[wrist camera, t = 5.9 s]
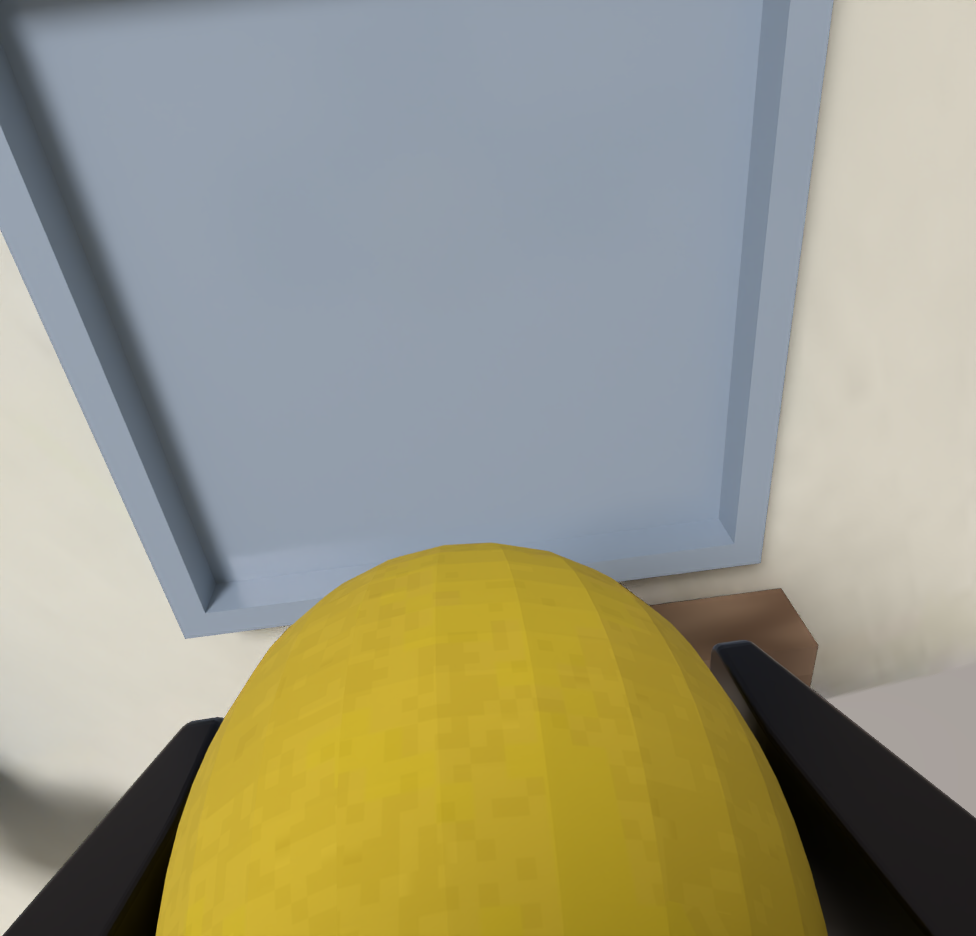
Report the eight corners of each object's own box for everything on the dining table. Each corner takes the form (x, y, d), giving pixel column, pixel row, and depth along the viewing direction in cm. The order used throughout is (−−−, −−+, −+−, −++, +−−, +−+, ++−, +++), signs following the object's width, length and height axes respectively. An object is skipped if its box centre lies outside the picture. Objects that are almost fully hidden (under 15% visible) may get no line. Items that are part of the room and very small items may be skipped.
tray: (809, -187, 13) (861, -216, 11) (735, 525, 21) (760, 563, 20) (-79, -84, 13) (-149, -100, 11) (202, 594, 21) (185, 638, 19)
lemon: (698, 653, 11) (1148, 1660, 4) (375, 761, 12) (310, 1766, 5) (591, 345, 8) (1433, 1874, 1) (176, 512, 9) (-625, 2056, 2)
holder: (781, 588, 23) (818, 645, 21) (750, 786, 28) (777, 847, 26) (302, 651, 22) (289, 716, 20) (365, 839, 28) (360, 905, 26)
